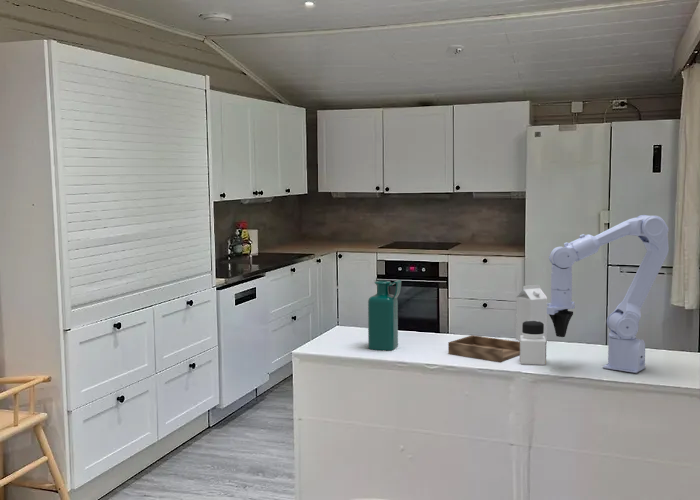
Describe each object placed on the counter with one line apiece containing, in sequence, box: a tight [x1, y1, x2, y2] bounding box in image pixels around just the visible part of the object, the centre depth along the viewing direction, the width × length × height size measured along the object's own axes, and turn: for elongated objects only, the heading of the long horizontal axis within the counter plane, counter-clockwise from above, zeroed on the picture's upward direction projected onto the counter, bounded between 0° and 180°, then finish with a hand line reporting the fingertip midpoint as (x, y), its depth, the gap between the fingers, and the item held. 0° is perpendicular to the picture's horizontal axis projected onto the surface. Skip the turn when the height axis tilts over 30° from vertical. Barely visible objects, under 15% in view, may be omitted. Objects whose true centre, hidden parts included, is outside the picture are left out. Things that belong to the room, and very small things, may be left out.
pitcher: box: [367, 279, 402, 352], centre depth 226 cm, size 10×8×22 cm
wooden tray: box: [447, 335, 520, 363], centre depth 217 cm, size 18×14×4 cm
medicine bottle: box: [519, 321, 547, 366], centre depth 206 cm, size 7×7×12 cm
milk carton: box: [515, 284, 548, 342], centre depth 233 cm, size 7×7×19 cm
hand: (560, 336), depth 201 cm, fingers closed
